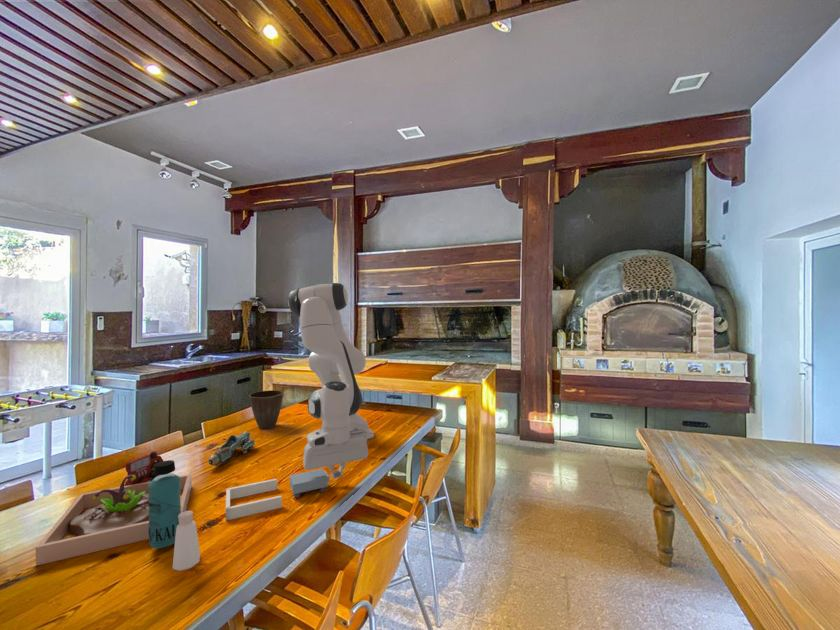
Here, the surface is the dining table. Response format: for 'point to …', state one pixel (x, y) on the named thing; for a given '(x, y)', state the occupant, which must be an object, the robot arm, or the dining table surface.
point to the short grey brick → (309, 481)
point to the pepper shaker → (186, 543)
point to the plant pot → (266, 407)
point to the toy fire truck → (143, 468)
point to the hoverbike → (231, 448)
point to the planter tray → (71, 547)
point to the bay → (252, 506)
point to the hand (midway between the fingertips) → (336, 477)
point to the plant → (113, 511)
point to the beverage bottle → (164, 505)
